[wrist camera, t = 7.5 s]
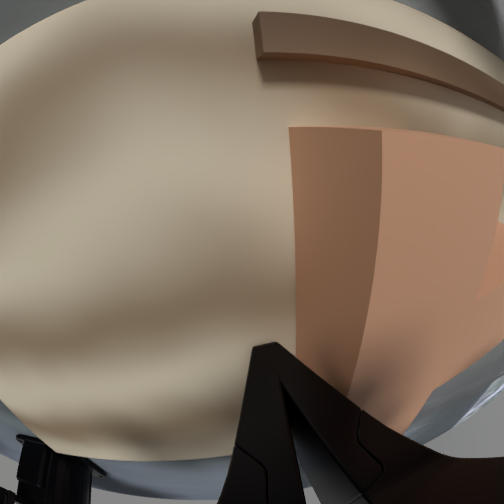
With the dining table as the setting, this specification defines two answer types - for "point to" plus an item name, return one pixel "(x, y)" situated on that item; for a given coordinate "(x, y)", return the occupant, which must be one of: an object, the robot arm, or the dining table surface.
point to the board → (186, 196)
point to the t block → (395, 261)
